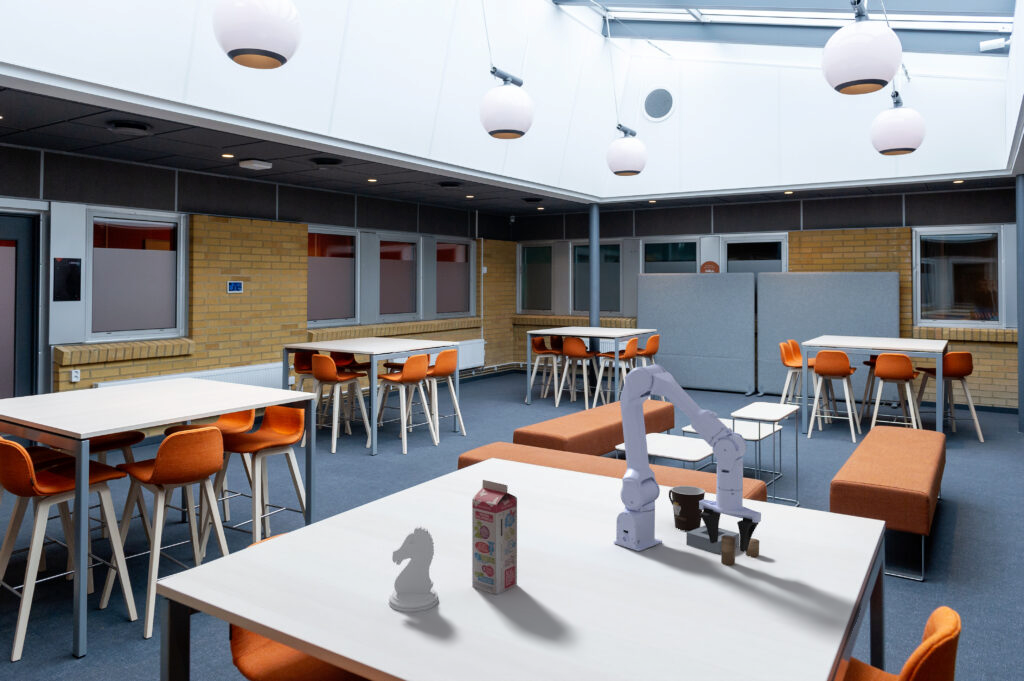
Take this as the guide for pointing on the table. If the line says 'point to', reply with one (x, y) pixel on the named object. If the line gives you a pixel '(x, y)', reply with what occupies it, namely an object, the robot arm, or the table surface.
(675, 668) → the table surface
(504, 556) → the juice carton
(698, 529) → the hole block
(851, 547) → the table surface
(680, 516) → the coffee mug
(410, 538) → the chess piece
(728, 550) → the long dowel
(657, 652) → the table surface
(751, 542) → the short dowel
